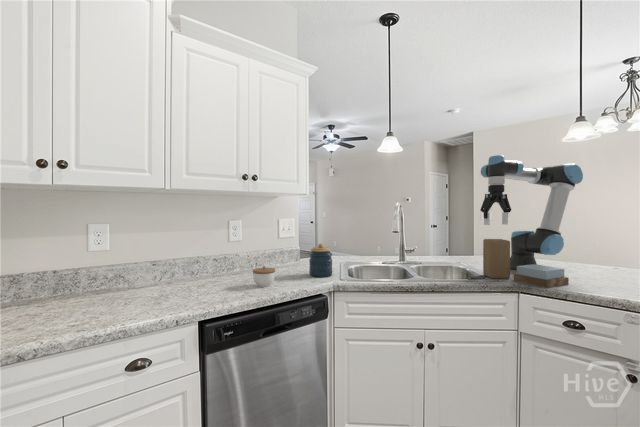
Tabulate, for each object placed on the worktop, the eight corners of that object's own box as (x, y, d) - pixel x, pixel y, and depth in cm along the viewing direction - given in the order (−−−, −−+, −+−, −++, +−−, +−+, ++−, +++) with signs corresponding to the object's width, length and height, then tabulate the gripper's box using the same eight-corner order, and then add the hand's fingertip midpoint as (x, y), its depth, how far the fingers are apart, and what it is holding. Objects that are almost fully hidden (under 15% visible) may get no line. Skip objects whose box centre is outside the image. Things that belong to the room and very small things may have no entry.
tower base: (534, 278, 162) (534, 271, 162) (568, 285, 148) (568, 277, 147) (513, 281, 156) (513, 273, 156) (546, 289, 142) (546, 280, 142)
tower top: (534, 271, 161) (534, 264, 161) (564, 277, 148) (564, 268, 148) (516, 274, 156) (516, 266, 156) (546, 279, 143) (546, 271, 143)
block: (501, 275, 169) (501, 238, 169) (510, 279, 159) (511, 240, 159) (482, 274, 170) (482, 238, 170) (490, 278, 160) (490, 240, 160)
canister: (327, 272, 179) (327, 242, 179) (335, 276, 167) (335, 244, 167) (306, 273, 175) (306, 242, 175) (313, 278, 163) (312, 245, 163)
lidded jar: (264, 289, 141) (264, 269, 141) (248, 286, 147) (247, 266, 146) (279, 284, 150) (279, 265, 150) (263, 281, 156) (263, 263, 156)
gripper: (506, 186, 172) (505, 223, 172) (473, 184, 163) (472, 224, 163) (519, 185, 165) (518, 224, 165) (485, 183, 156) (485, 225, 156)
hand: (496, 224), depth 164 cm, fingers open, 13 cm apart
